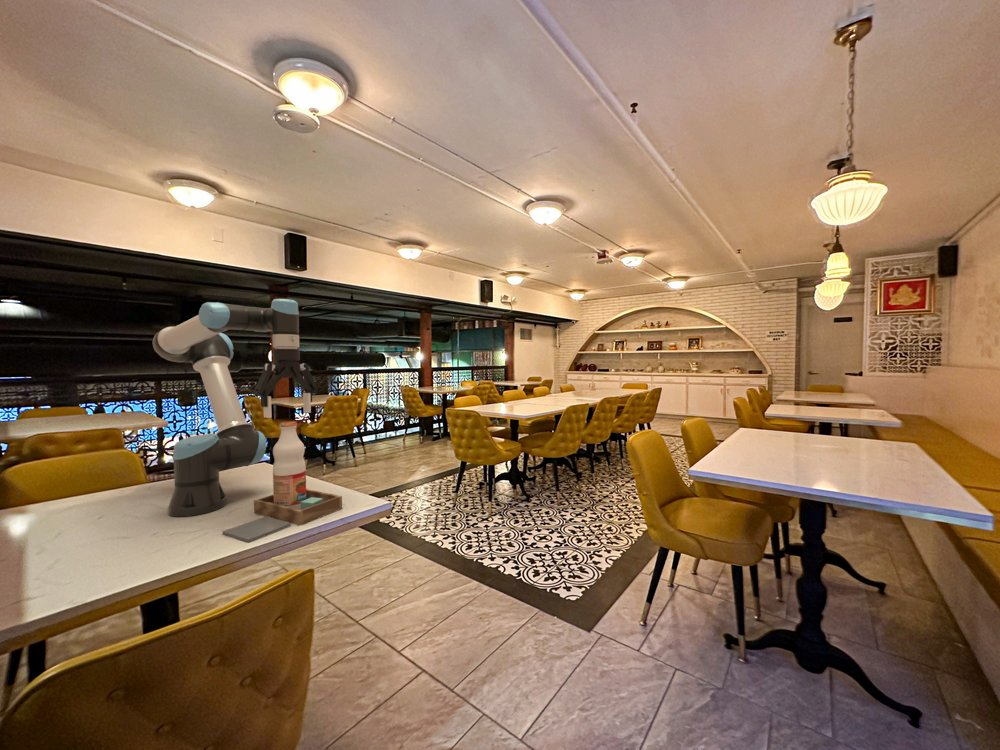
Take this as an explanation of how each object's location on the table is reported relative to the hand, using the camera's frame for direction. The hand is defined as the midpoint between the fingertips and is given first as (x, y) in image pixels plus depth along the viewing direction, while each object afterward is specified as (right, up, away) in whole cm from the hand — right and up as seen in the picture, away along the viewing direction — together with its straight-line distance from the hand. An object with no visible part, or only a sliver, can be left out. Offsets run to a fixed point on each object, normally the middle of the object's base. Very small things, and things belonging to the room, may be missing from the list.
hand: (288, 415), depth 129 cm
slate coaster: (-1, -31, -16) cm, 35 cm away
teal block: (+10, -31, -4) cm, 32 cm away
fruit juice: (0, -31, +1) cm, 31 cm away
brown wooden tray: (+4, -30, -1) cm, 31 cm away
